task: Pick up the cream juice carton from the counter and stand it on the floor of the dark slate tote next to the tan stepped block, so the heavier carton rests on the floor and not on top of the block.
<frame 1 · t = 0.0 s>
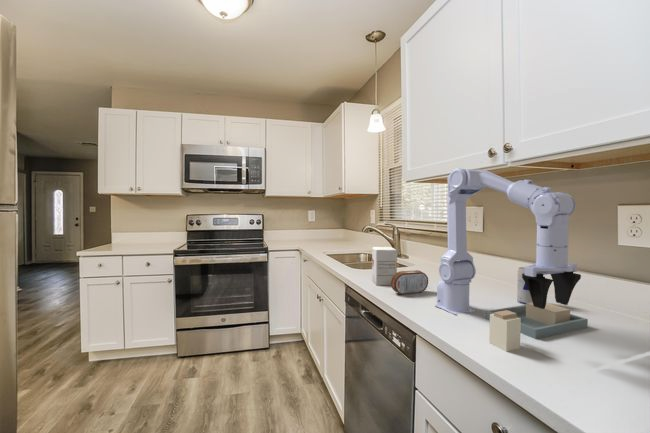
hand: (550, 305, 68), 10 cm above the worktop, tool pointing down, fingers open, 7 cm apart
tin: (410, 293, 113), on the worktop
tote: (534, 325, 82), on the worktop
tan stepped block: (547, 320, 84), point 1 cm above the worktop, touching tote
supplement box: (383, 283, 129), on the worktop
energy drink: (526, 305, 100), on the worktop
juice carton: (504, 345, 70), on the worktop
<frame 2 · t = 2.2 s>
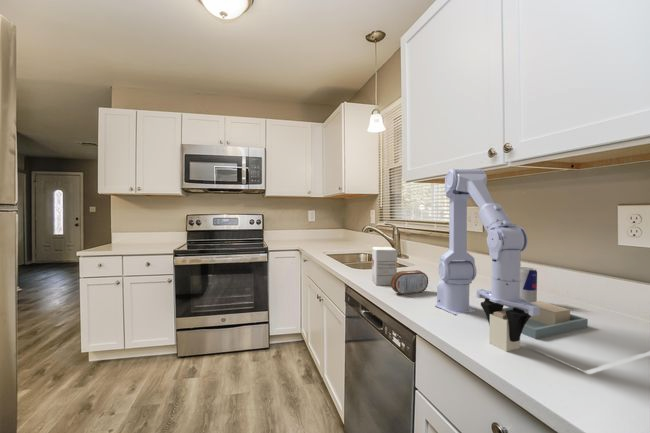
hand: (504, 336, 70), 2 cm above the worktop, tool pointing down, fingers closed on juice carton, 4 cm apart
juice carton: (504, 345, 70), on the worktop, touching gripper
everything else where it was.
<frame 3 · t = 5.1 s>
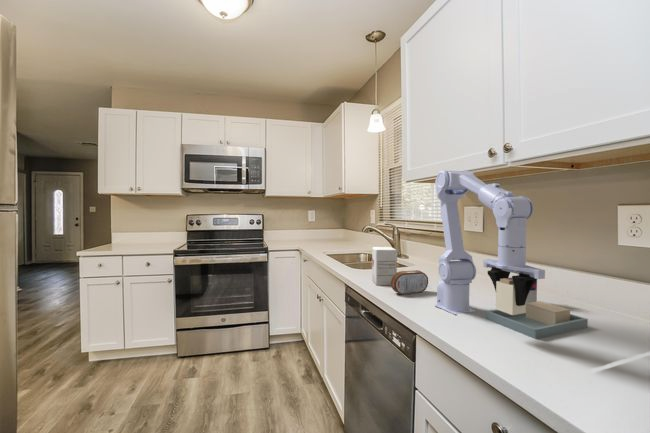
hand: (510, 301, 73), 9 cm above the worktop, tool pointing down, fingers closed on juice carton, 4 cm apart
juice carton: (510, 311, 73), point 7 cm above the worktop, touching gripper
everything else where it was.
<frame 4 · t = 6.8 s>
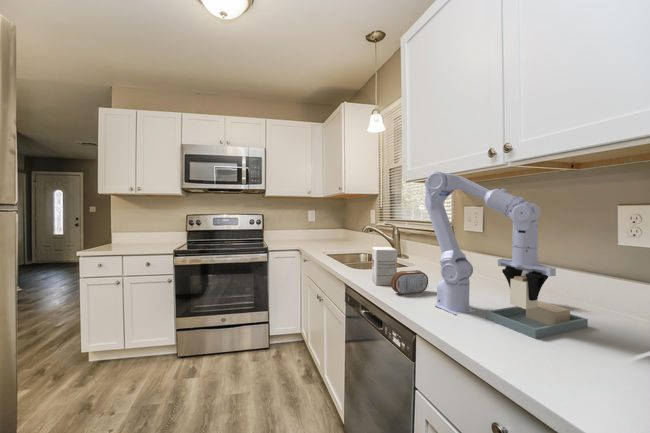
hand: (523, 297, 81), 8 cm above the worktop, tool pointing down, fingers closed on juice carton, 4 cm apart
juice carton: (523, 305, 81), point 6 cm above the worktop, touching gripper
everything else where it was.
when the fingers open (4 cm above the worktop, at t = 8.1 s): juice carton stays where it is, resting on tote.
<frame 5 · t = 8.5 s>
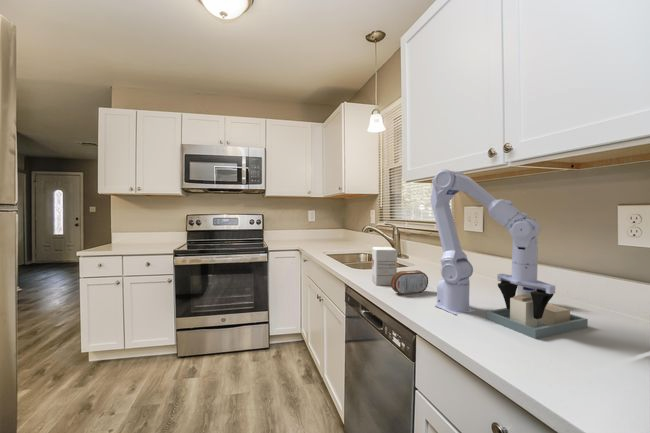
hand: (523, 313, 81), 4 cm above the worktop, tool pointing down, fingers open, 7 cm apart
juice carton: (523, 325, 81), point 1 cm above the worktop, touching tote
everything else where it was.
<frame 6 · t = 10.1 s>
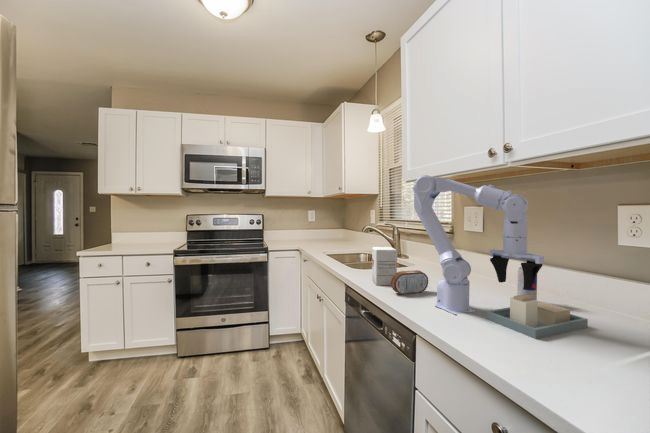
hand: (514, 285, 85), 10 cm above the worktop, tool pointing down, fingers open, 7 cm apart
nothing on the worktop moved.
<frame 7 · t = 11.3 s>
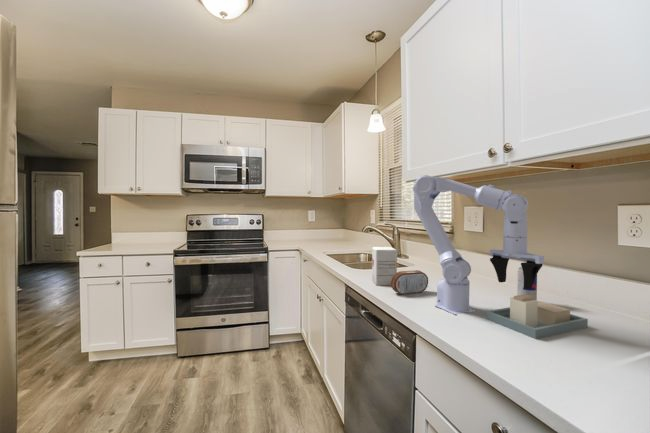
hand: (514, 285, 85), 10 cm above the worktop, tool pointing down, fingers open, 7 cm apart
nothing on the worktop moved.
at the end: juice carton inside the target area on the tote (4.5 cm from its centre), point 0.6 cm above the tote's base; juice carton tilted 0°; tan stepped block moved 0.0 cm from its start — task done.
